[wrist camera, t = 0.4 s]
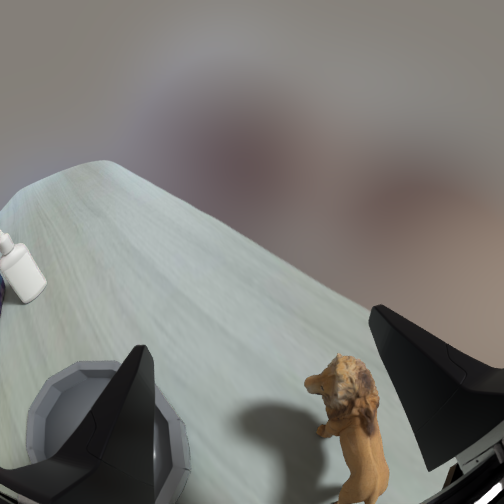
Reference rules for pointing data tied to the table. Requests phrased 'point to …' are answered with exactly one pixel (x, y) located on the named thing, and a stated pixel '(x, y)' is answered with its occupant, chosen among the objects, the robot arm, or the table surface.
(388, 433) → the table surface
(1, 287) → the handbag
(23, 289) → the eye dropper bottle
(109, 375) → the round dish
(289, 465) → the table surface
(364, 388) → the lion figurine
